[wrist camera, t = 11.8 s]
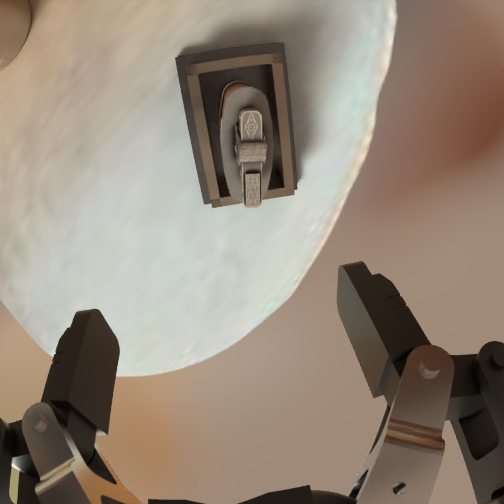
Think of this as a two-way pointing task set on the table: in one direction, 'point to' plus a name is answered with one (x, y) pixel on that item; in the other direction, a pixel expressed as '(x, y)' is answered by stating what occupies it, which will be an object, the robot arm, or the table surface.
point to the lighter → (246, 142)
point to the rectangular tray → (208, 106)
